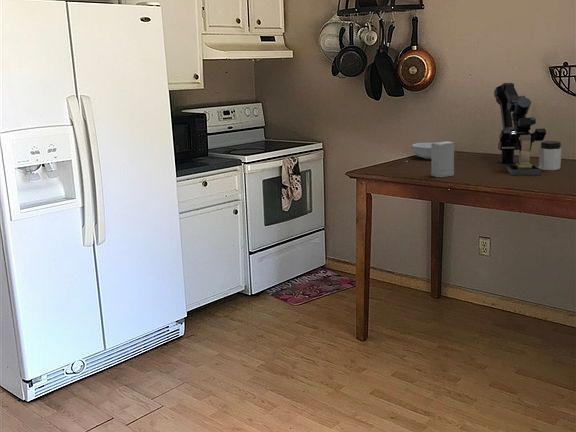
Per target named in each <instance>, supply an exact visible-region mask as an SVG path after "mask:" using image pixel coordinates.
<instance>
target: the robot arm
mask: <svg viewBox="0 0 576 432" xmlns="http://www.w3.org/2000/svg"><path fill="white" fill-rule="evenodd" d="M493 96H494V98H495V102H496V103H497V104H498V105H499V108H500V115H501V122H502V123H501V124H502V129H501V131H500V134H499V140H498V144H497V150H499V151H501V159H500V160H499V163H501V164H516V163H517V162H516V161H515V151H518V150H519V151H521V150H522V149H521V144H520V135H530V136H531V141H530V152H531V150H532V145H533V143H535V142H543V141H544V139H545V137H546V135H547V130H546V129H545V128H535V129H534V131H531V126H533V125H535V124H536V122H537V119H536V116H530V117H527V114H528V113H529V110H530V108H531V104H532V101H531V100H530V99H529V98H527V97H526V95H519V94H518V92H517V90H516V88H515V84H514V83H512V82H504V83H502V84H501V85H499V86H497V87H495V89H494V91H493Z"/></svg>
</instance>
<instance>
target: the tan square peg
mask: <svg viewBox="0 0 576 432" xmlns="http://www.w3.org/2000/svg"><path fill="white" fill-rule="evenodd" d="M519 139H520V144H521V149H522V150H521V151H519V152H518V153H519V154H518V163H519V165H529V163H530V156H531V155H530V154H531V151H530V141H531V136H530V135H520V137H519Z"/></svg>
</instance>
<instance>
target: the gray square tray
mask: <svg viewBox="0 0 576 432" xmlns="http://www.w3.org/2000/svg"><path fill="white" fill-rule="evenodd" d="M506 171H507V173H508V174H509V175H511V177H514V176H516V177H517V176H520V177H521V176H527V177H528V176H529V177H530V176H531V177H532V176H542V169H540V168H539V166H538V165H536V164H531V162H529V165H519V162H516V163H515V164H507V165H506Z"/></svg>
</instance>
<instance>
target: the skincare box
mask: <svg viewBox="0 0 576 432" xmlns="http://www.w3.org/2000/svg"><path fill="white" fill-rule="evenodd" d="M431 143H432V159H431V170H430V171H431V174H430V175H431V176H432V177H435V178H438V177H440V178H445V177H452V176H455V142H452V141H448V140H446V141H445V140H444V141H440V142H438V141H437V142H431Z"/></svg>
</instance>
